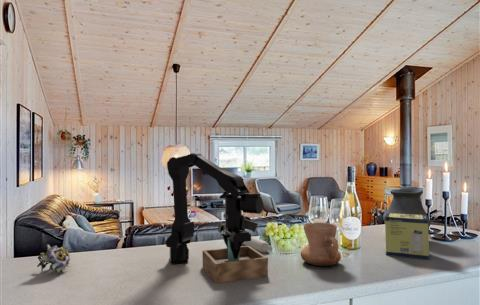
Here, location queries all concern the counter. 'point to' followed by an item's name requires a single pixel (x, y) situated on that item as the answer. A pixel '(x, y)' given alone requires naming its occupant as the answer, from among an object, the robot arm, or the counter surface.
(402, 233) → the protein box
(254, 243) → the tube
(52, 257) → the passion flower
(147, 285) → the counter surface
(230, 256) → the peg
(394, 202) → the dark grey flared piece
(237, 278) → the box
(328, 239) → the ceramic jug
